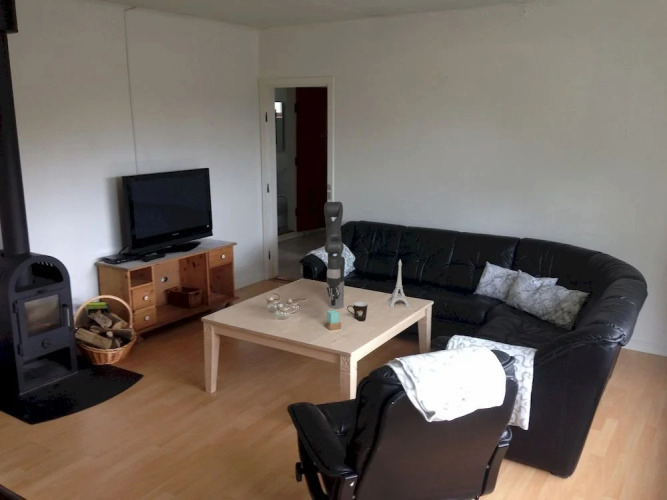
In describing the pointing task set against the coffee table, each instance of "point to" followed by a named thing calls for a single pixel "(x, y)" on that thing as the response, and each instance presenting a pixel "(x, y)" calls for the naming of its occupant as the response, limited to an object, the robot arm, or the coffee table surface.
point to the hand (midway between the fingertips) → (333, 305)
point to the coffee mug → (359, 311)
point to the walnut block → (332, 326)
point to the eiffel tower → (395, 294)
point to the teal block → (333, 316)
